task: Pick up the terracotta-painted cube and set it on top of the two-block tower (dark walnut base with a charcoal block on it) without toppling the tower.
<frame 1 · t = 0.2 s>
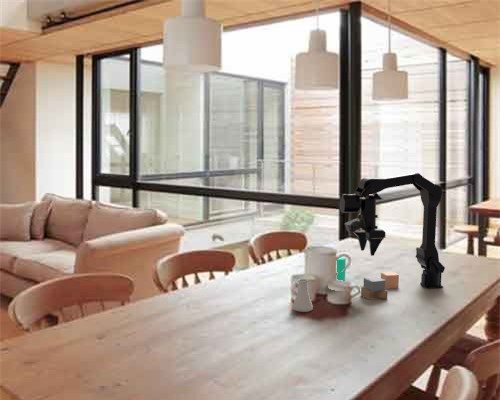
hand: (367, 252, 204), 14 cm above the table, fingers open, 9 cm apart
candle: (337, 284, 213), on the table
tower middle: (374, 288, 195), point 3 cm above the table, touching tower base
flask: (302, 309, 182), on the table
terracotta cube: (389, 286, 210), on the table
tower base: (373, 298, 196), on the table, touching tower middle
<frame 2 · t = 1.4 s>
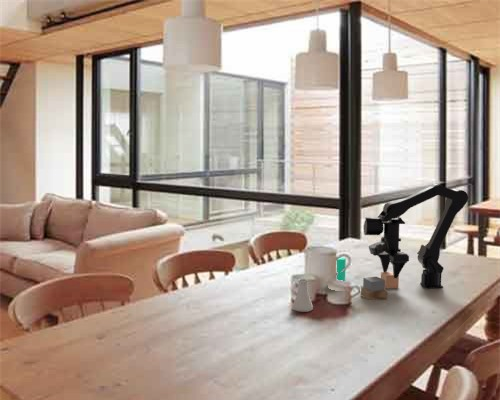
hand: (390, 275, 210), 4 cm above the table, fingers open, 9 cm apart
nothing on the table moved.
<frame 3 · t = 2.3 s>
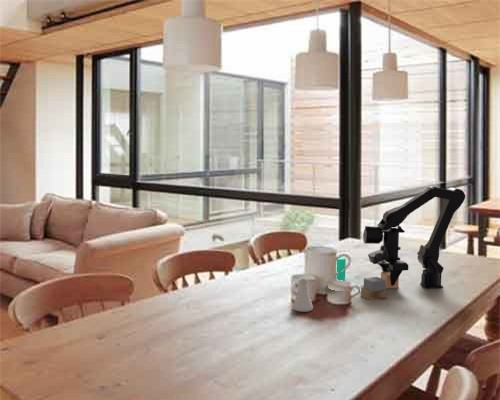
hand: (389, 283, 210), 1 cm above the table, fingers closed on terracotta cube, 5 cm apart
tower middle: (374, 288, 195), point 3 cm above the table
terracotta cube: (389, 286, 210), on the table, touching gripper
tower base: (373, 298, 196), on the table
everything else where it was.
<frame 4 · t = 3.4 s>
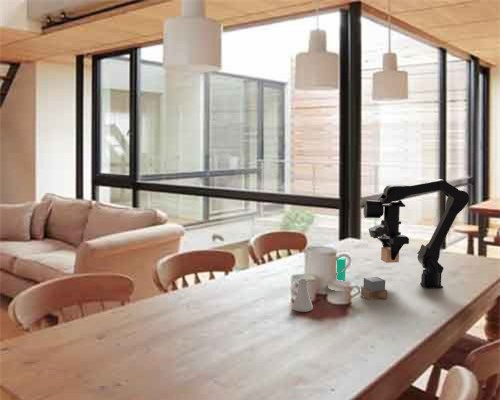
hand: (390, 258, 209), 11 cm above the table, fingers closed on terracotta cube, 5 cm apart
tower middle: (374, 288, 195), point 3 cm above the table, touching tower base
terracotta cube: (389, 261, 209), point 10 cm above the table, touching gripper
tower base: (373, 297, 196), on the table, touching tower middle
everything else where it was.
when the fingers open (9 cm above the table, at t = 5.6 s): terracotta cube drops 2 cm, resting on tower middle.
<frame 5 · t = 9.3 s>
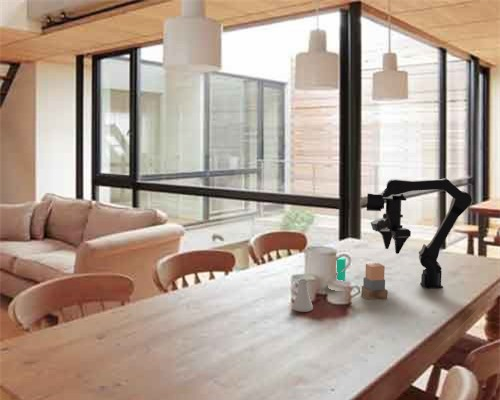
hand: (391, 251, 212), 13 cm above the table, fingers open, 9 cm apart
tower middle: (373, 288, 196), point 3 cm above the table, touching terracotta cube, tower base
terracotta cube: (374, 278, 196), point 7 cm above the table, touching tower middle
everything else where it was.
at the end: terracotta cube 0.2 cm off-centre on the tower base, point 7.0 cm above the tower base's base; terracotta cube tilted 0°; tower middle 0.2 cm off-centre on the tower base, point 3.5 cm above the tower base's base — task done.
